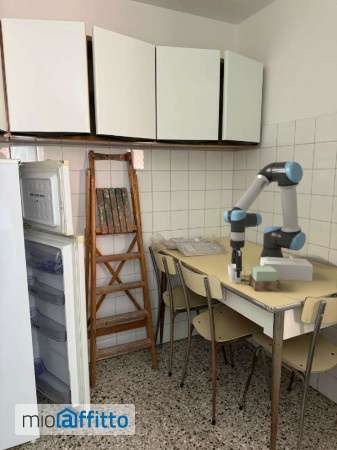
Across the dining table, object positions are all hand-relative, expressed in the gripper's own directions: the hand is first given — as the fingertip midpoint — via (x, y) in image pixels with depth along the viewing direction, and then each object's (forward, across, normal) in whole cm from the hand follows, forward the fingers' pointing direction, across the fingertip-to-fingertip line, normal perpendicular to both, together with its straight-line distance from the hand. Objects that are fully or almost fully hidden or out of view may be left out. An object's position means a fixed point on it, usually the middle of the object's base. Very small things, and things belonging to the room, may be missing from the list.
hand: (235, 279), depth 167 cm
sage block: (-4, +10, +12) cm, 16 cm away
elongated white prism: (+1, -8, +29) cm, 30 cm away
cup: (0, 0, 0) cm, 0 cm away
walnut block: (+1, +10, +12) cm, 16 cm away
